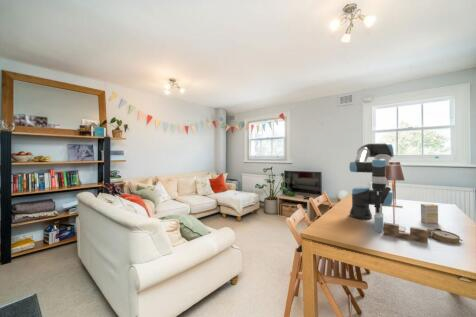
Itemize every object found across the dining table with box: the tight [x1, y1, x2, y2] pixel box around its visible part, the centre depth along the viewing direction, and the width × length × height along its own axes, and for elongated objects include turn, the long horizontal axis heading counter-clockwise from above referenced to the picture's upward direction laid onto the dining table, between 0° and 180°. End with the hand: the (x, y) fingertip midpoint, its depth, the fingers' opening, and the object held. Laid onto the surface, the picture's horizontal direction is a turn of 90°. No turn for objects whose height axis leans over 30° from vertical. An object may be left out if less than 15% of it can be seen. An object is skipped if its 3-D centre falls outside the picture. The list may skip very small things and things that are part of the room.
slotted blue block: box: [373, 212, 384, 234], centre depth 134 cm, size 10×4×10 cm, turn 141°
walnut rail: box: [383, 221, 429, 244], centre depth 120 cm, size 20×3×7 cm, turn 51°
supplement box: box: [420, 203, 439, 224], centre depth 146 cm, size 8×5×13 cm, turn 84°
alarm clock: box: [426, 227, 463, 244], centre depth 119 cm, size 11×5×15 cm
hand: (378, 215), depth 134 cm, fingers open, 13 cm apart
